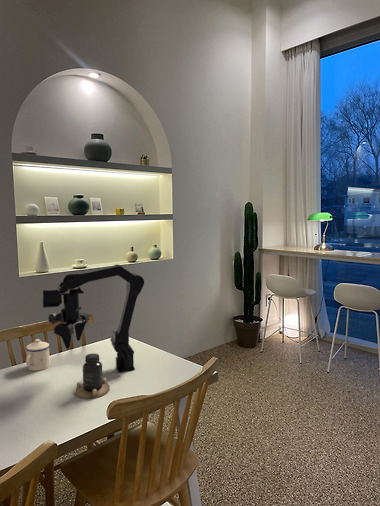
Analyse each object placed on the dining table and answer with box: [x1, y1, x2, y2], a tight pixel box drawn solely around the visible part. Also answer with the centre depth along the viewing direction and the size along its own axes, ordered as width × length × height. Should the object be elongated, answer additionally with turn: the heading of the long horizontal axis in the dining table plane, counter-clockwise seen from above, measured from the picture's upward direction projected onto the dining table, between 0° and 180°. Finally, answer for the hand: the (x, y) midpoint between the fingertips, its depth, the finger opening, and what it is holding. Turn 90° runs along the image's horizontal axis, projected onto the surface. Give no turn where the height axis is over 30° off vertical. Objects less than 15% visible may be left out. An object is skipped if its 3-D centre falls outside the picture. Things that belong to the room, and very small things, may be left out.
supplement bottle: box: [82, 353, 103, 392], centre depth 141 cm, size 7×7×12 cm
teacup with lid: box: [25, 338, 51, 372], centre depth 161 cm, size 12×9×12 cm
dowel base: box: [74, 377, 111, 400], centre depth 141 cm, size 12×12×3 cm
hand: (73, 344), depth 152 cm, fingers open, 9 cm apart
